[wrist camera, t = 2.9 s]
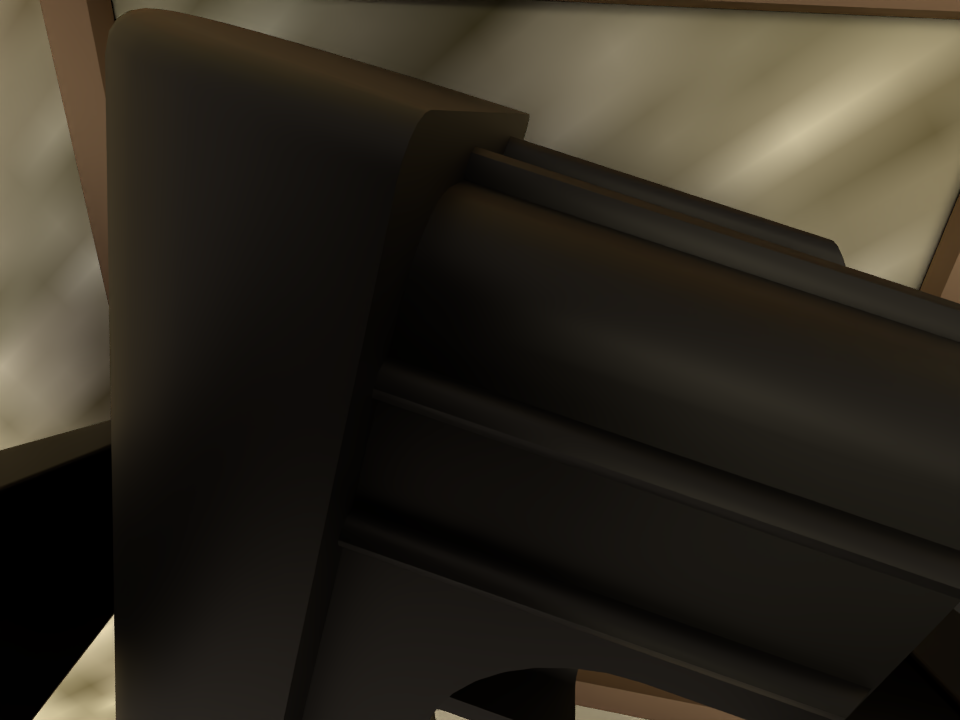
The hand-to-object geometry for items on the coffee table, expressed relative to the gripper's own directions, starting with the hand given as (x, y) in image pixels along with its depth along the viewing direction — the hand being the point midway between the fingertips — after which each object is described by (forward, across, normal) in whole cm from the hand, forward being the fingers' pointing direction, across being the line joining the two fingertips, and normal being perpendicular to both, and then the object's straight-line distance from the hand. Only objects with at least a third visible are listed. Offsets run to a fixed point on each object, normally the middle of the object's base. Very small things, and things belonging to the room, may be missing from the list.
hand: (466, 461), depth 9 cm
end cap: (+2, 0, 0) cm, 2 cm away
